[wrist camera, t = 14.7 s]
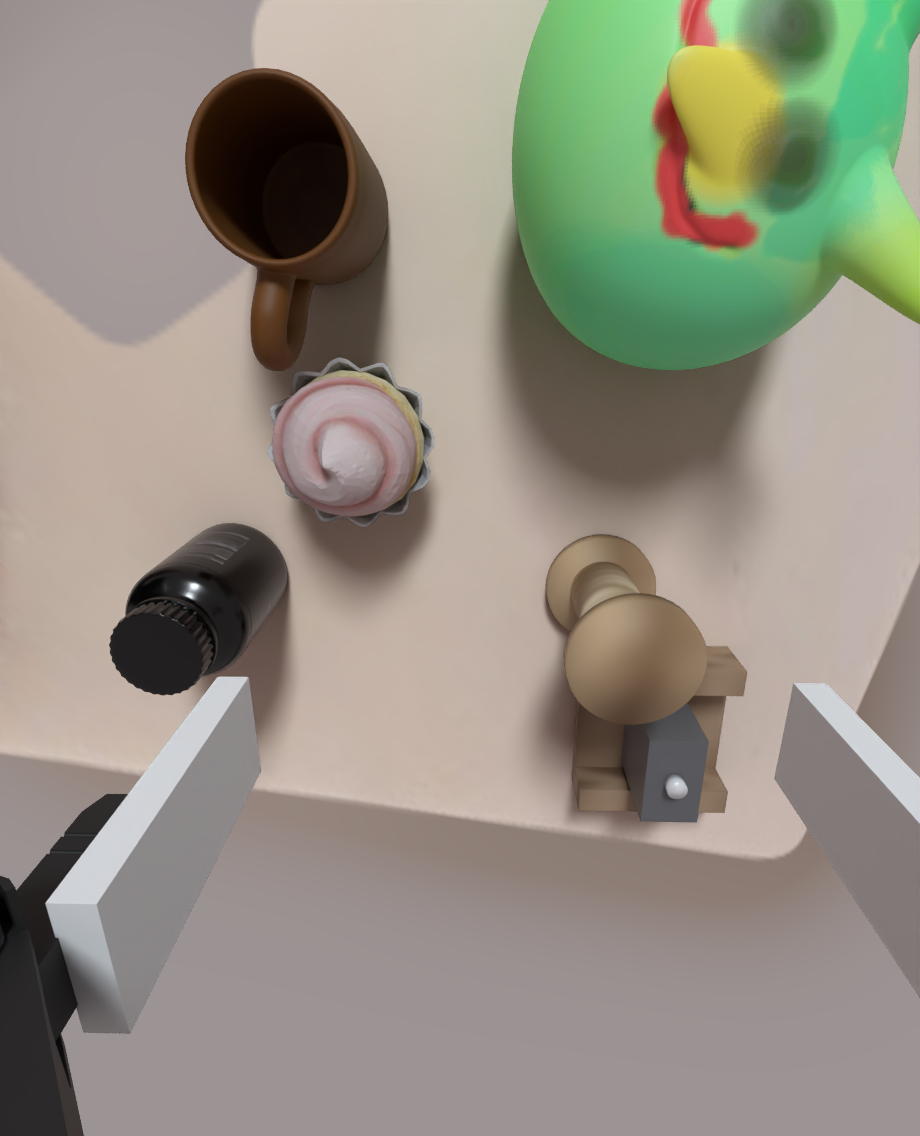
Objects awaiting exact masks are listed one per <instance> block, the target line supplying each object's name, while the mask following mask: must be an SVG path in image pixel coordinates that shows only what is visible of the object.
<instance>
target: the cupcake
mask: <svg viewBox="0 0 920 1136" xmlns="http://www.w3.org/2000/svg"><path fill="white" fill-rule="evenodd" d="M270 412H271V417H272V420H273V422H274V425H275V426H274V429H273V438H272V443H271V445H270V447H269V449H268V453H267V454H268V455H269V457H270V458H271V460H272V461H274V463H275V466H276V468H277V471H278V473H279V475H280V477H281V479H282V481H283V482H284V483H285V490H286V494H287V495H288V496H290V497H292V498H295V499H300V500H301V501H303V502H304V503H306V504H307V505H309V506H311V507H312V508H313V509H314V511H315V513H316V515H317V517H318V518H319V519H320V520H321V521H322V522H329V521H333V520H336V519H339V518H343V517H345V518H346V519H348V520H349V521H351V522H352V523H354V524H355V525H357V526H361V527H364V528H365V527H367V526H369V525H371V524H372V523H373V522H374V521H375V520H376V519H377V518H378V517H379V516H380V515H381V514H387V515H400V514H404V512H405V511H406V509H407V508H408V504H409V499H410V494H411V493H412V492H414V491H416V490H418V489H421V488H423V487H424V486H425V485H426V484H427V482H428V481H429V477H430V470H429V467H428V464H427V461H426V458H427V456H428V455H429V453H430V452H431V450H432V449H433V448H434V439H435V438H434V435H433V432H432V429H431V428H430V427H429V426H428V425H427V424H426V423H425V422H424V421H422V420H421V417H422V400H421V395H420V394H418V393H417V392H415V391H413V390H411V389H407V388H403V387H399V386H397V384H396V382H395V380H394V378H393V376H392V373H391V371H390V369H389V368H388V367H387V365H386V364H385V363H376V364H373V365H370V366H367V367H364V368H361V369H360V368H359V367H357V366H356V365H355V364H353V363H352V362H350V361H349V360H348V359H344V358H340V357H338V358H336V359H334V360H331V361H330V362H329V363H328V364H327V366H326V367H325V368H324V369H323V370H322V372H321V373H319V372H310V371H299V372H296V373H295V375H294V377H293V381H292V389H291V396H290V397H289V398H287V399H285V400H283V401H280V402H278V403H276V404H275V405H274V406H272V407H271V408H270Z"/></svg>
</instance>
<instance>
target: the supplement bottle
mask: <svg viewBox="0 0 920 1136" xmlns="http://www.w3.org/2000/svg"><path fill="white" fill-rule="evenodd" d="M286 585H287V568H286V564H285V561H284V558H283V556H282V554H281V552H280V550H279V549H278V547H277V546H276V545H275V544H274V542H273V541H272V540H271V539H270V538H268V537H267V536H266V535H265V534H263V533H262V532H260V531H258V530H256V529H254V528H252V527H249V526H246V525H242V524H235V523H226V524H219V525H215V526H212V527H210V528H208V529H206V530H204V531H203V532H201V533H200V534H198V535H197V536H195V537H194V538H193V539H191V540H190V541H189V542H187V543H186V544H185V545H184V546H182V547H181V548H180V549H178V550H177V551H176V552H174V553H173V554H172V555H170V556H169V557H168V558H166V559H165V560H164V561H162V562H161V563H160V564H158V565H157V566H156V567H154V568H153V569H152V570H151V571H149V572H148V573H147V574H145V575H144V576H143V577H142V578H141V579H140V580H139V581H138V582H137V583H136V584H135V586H134V587H133V589H132V591H131V593H130V595H129V597H128V600H127V604H126V611H125V617H124V618H123V619H122V620H120V621H119V623H118V625H117V626H116V627H115V628H114V629H113V634H112V635H111V637H110V638H111V642H110V644H109V646H110V649H111V650H110V654H111V656H112V661H113V663H114V664H115V666H116V669H117V670H118V671H119V672H120V673H121V676H122V677H124V678H125V679H126V680H127V681H128V682H129V683H131V684H133V685H134V686H135V687H136V688H140V689H142V690H143V691H145V692H150V693H152V694H160V695H166V694H168V695H173V694H175V693H181V692H182V691H184V690H188V689H189V688H190V687H191V686H193V685H195V684H196V683H197V681H198V680H199V679H200V678H201V677H204V676H210V675H213V674H216V673H219V672H221V671H223V670H225V669H227V668H228V667H230V666H231V665H232V664H233V663H235V662H236V661H237V659H238V658H239V657H240V656H241V655H242V654H243V652H244V651H245V650H246V648H247V647H248V645H249V644H250V643H251V641H252V640H253V638H254V637H255V636H256V634H257V633H258V631H259V630H260V628H261V627H262V626H263V624H264V623H265V621H266V620H267V619H268V617H269V616H270V614H271V613H272V612H273V610H274V609H275V607H276V606H277V604H278V603H279V601H280V600H281V598H282V596H283V594H284V592H285V589H286Z"/></svg>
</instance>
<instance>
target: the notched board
mask: <svg viewBox="0 0 920 1136" xmlns="http://www.w3.org/2000/svg"><path fill="white" fill-rule="evenodd" d="M706 649H707V667H706V671H705V675H704V678H703V681H702V683H701V685H700V687H699V688H698V690H697V691H696V693H695V694H694V696H693V697H692V698H691V699H690V700H689V701H688V702H687V703H688V705H689V707H690V708H691V710H692V712H693V714H694V716H695V717H696V719H697V721H698V723H699V725H700V726H701V728H702V730H703V732H704V734H705V735H706V737H707V739H708V741H709V744H708V751H707V758H706V764H705V771H704V778H703V784H702V791H701V798H700V804H699V811H698V812H706V813H724V812H725V806H726V800H727V794H728V791H727V790H726V788H725V786H724V784H723V782H722V780H721V778H720V777H719V775H718V773H717V771H716V769H715V767H716V760H717V754H718V747H719V741H720V734H721V727H722V721H723V714H724V708H725V701H726V696H743V695H744V689H745V682H746V676H747V671H746V670H745V668H744V667H743V666H742V665H741V663H740V662H739V661H738V660H737V658H736V657H735V656H734V654H733V653H732V652H731V651H730V649H729V648H728V647H712V646H706ZM624 729H625V724H618V723H613V722H610V721H606V720H604V719H602V718H599V717H597V716H595V715H594V714H592V713H591V712H589V711H588V710H587V709H585V708H584V707H583V706H582V705H581V704H580V703H579V702H578V700H577V706H576V723H575V739H574V756H573V772H572V780H573V785H574V789H575V794H576V799H577V804H578V809H579V811H637V808H636V805H635V802H634V799H633V796H632V793H631V790H630V787H629V784H628V781H627V777H626V774H625V771H624V768H623V765H622V762H621V760H622V750H623V739H624Z"/></svg>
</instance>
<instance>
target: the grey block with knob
mask: <svg viewBox="0 0 920 1136" xmlns="http://www.w3.org/2000/svg"><path fill="white" fill-rule="evenodd" d="M708 744H709V741H708V739H707V737H706V735H705V734H704V732H703V730H702V728H701V726H700V725H699V723H698V721H697V719H696V717H695V716H694V714H693V712H692V710H691V708H690V707H689V705H688V703H686V704H685V705H684V706H683V707H681V708H680V709H679V710H677V711H676V712H674V713H673V714H671V715H669V716H667V717H665V718H662V719H660V720H657V721H654V722H650V723H645V724H636V725H627V724H625V729H624V739H623V750H622V760H621V762H622V765H623V768H624V771H625V774H626V777H627V781H628V784H629V787H630V790H631V793H632V796H633V799H634V802H635V805H636V808H637V811H638V814H639V817H640V821H656V822H697V818H698V811H699V804H700V798H701V791H702V784H703V778H704V771H705V764H706V758H707V751H708Z"/></svg>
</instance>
